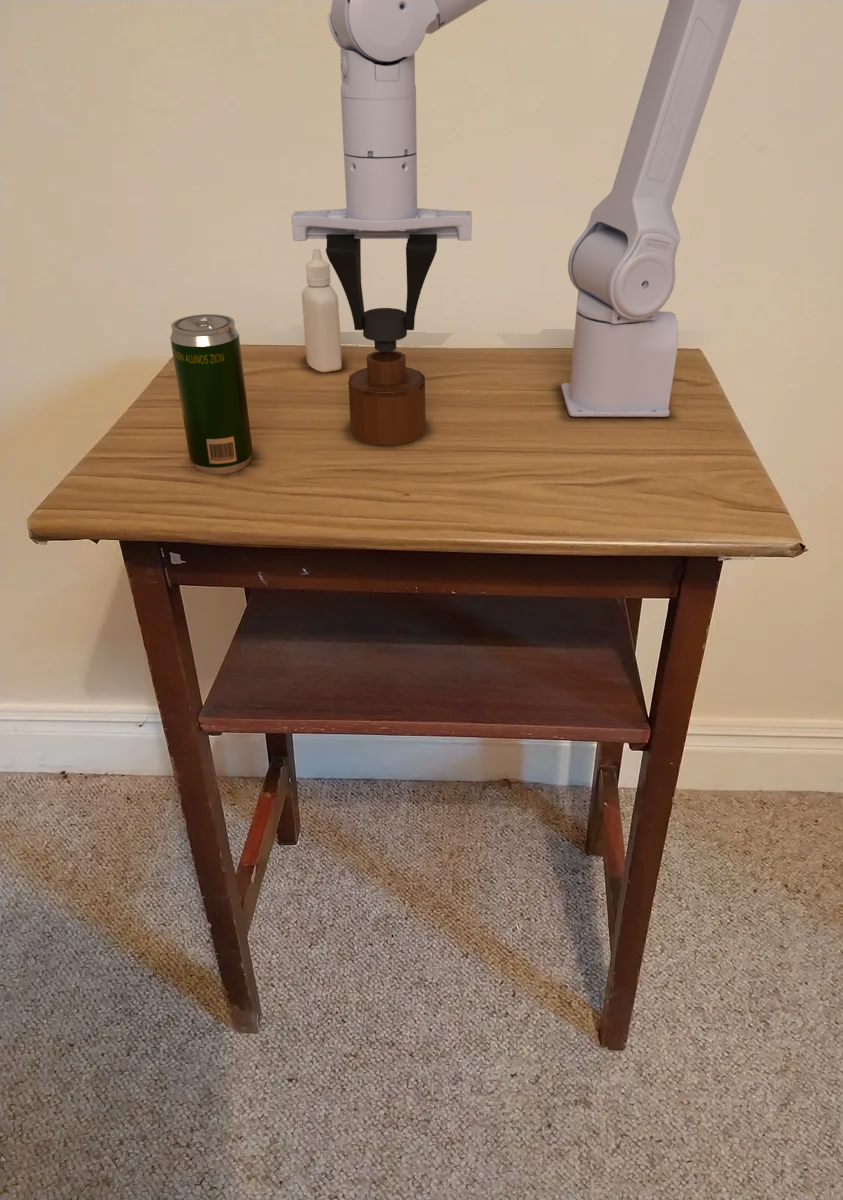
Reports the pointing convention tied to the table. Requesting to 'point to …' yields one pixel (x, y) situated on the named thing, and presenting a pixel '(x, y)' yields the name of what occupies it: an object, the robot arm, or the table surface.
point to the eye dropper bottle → (321, 317)
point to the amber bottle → (387, 401)
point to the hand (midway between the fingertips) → (385, 326)
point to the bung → (384, 327)
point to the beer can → (212, 392)
